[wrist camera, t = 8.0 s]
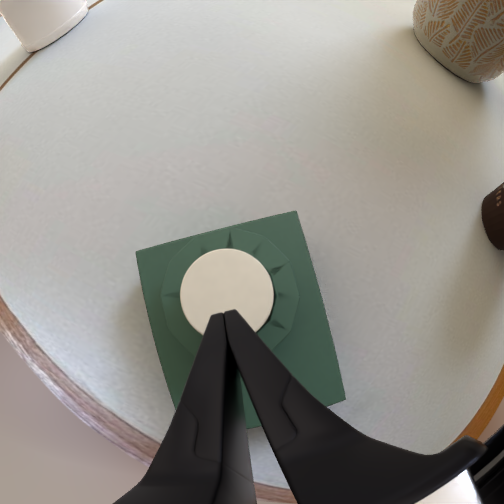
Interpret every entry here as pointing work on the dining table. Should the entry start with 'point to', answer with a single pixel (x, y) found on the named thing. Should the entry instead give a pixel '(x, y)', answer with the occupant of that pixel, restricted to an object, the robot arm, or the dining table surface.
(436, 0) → the vase
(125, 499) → the robot arm
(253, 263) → the cream push button
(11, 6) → the bottle
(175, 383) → the green button housing
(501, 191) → the coffee mug
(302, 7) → the dining table surface
